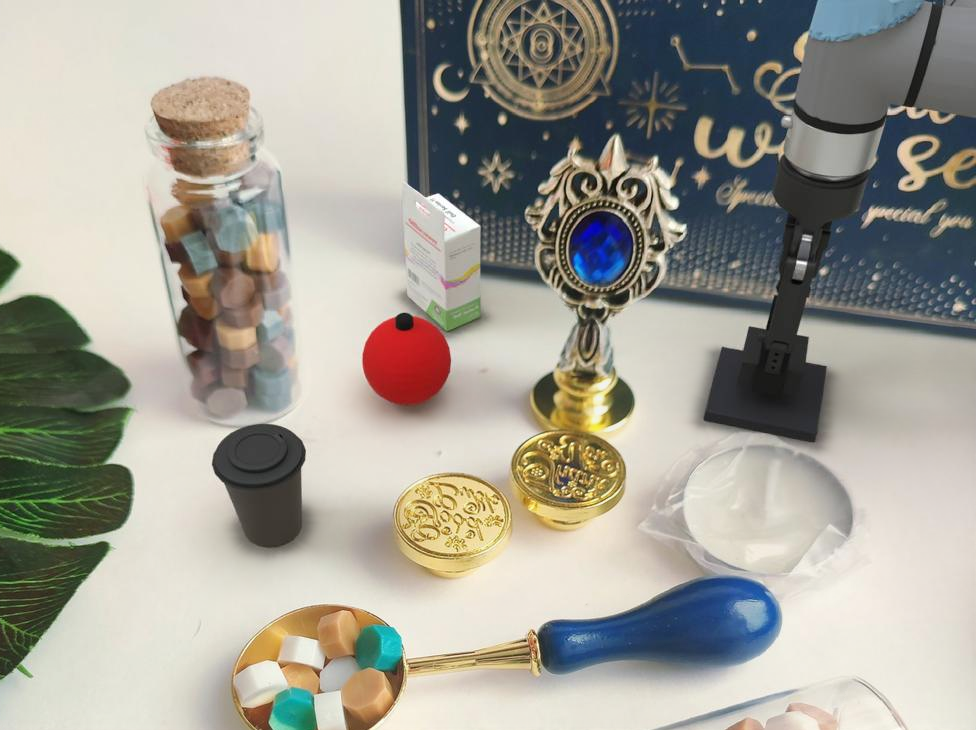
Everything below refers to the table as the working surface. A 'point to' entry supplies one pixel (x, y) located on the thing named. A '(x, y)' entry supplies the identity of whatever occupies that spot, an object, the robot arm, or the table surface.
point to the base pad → (765, 401)
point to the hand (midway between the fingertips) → (770, 370)
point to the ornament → (406, 360)
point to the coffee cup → (263, 481)
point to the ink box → (441, 258)
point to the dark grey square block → (753, 355)
